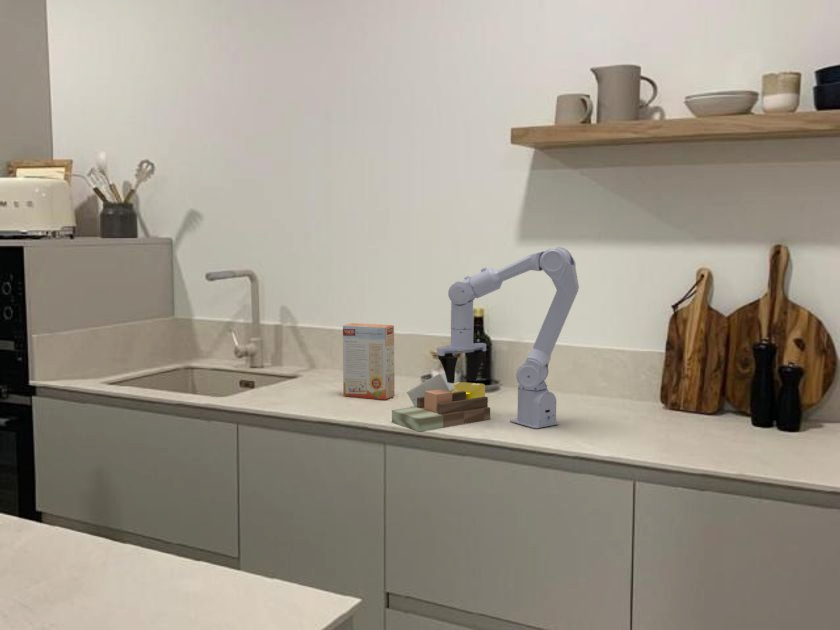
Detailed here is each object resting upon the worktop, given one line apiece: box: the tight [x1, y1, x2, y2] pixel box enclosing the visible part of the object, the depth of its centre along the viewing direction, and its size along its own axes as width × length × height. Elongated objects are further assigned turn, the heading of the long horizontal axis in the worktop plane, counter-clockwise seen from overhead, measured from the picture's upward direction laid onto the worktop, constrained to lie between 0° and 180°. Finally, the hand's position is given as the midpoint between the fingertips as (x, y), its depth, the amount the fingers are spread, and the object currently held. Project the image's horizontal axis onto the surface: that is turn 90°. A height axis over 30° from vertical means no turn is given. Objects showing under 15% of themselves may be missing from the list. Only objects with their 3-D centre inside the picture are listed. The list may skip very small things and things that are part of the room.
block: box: [424, 389, 452, 412], centre depth 210 cm, size 5×5×4 cm
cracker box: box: [342, 323, 395, 401], centre depth 239 cm, size 14×6×21 cm, turn 64°
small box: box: [406, 371, 455, 407], centre depth 222 cm, size 8×6×10 cm
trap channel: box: [391, 391, 491, 432], centre depth 210 cm, size 12×22×6 cm, turn 125°
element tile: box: [451, 381, 486, 399], centre depth 235 cm, size 15×15×5 cm
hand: (461, 381), depth 213 cm, fingers open, 7 cm apart
